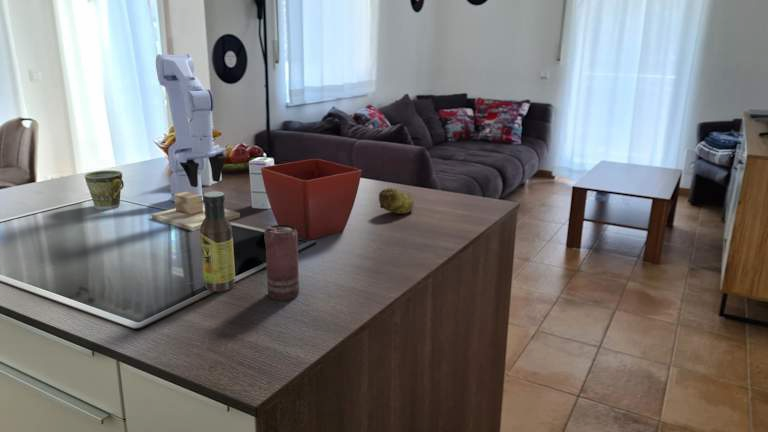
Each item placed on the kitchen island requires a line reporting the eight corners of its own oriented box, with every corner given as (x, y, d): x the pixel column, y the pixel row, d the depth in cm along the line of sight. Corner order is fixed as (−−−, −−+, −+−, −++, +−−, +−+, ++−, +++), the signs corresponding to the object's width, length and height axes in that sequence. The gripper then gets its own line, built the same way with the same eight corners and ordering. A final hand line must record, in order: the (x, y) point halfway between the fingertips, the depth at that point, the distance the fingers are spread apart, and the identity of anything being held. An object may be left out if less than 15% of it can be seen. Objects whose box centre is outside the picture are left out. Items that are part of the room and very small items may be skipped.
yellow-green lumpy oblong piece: (423, 214, 172) (424, 187, 169) (385, 220, 165) (386, 192, 163) (408, 207, 178) (409, 181, 176) (371, 212, 172) (371, 186, 170)
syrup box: (269, 209, 174) (267, 161, 169) (251, 208, 175) (248, 160, 171) (276, 204, 179) (274, 157, 175) (258, 203, 180) (256, 156, 176)
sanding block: (175, 211, 166) (174, 194, 165) (187, 208, 169) (186, 191, 168) (191, 215, 162) (189, 198, 161) (203, 212, 166) (201, 195, 164)
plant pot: (363, 230, 156) (363, 169, 151) (306, 247, 143) (304, 180, 138) (317, 215, 169) (316, 158, 164) (261, 229, 156) (258, 167, 151)
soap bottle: (222, 180, 207) (218, 126, 202) (209, 186, 199) (205, 130, 194) (200, 178, 209) (196, 125, 204) (187, 184, 201) (182, 129, 195)
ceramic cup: (81, 208, 172) (76, 175, 169) (110, 200, 180) (106, 168, 177) (111, 215, 166) (107, 180, 163) (140, 206, 174) (136, 173, 172)
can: (268, 289, 119) (265, 223, 115) (299, 288, 120) (297, 223, 116) (265, 302, 113) (261, 233, 109) (298, 301, 114) (296, 233, 110)
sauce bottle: (202, 283, 121) (195, 190, 116) (233, 279, 124) (227, 187, 118) (206, 295, 116) (198, 198, 110) (238, 290, 118) (232, 195, 112)
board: (152, 218, 163) (151, 214, 163) (199, 206, 176) (199, 202, 176) (192, 231, 153) (192, 226, 153) (240, 217, 166) (239, 212, 166)
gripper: (189, 140, 152) (193, 191, 156) (232, 133, 163) (235, 180, 167) (172, 137, 155) (176, 187, 159) (215, 130, 167) (218, 177, 171)
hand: (205, 183), depth 163 cm, fingers open, 7 cm apart
